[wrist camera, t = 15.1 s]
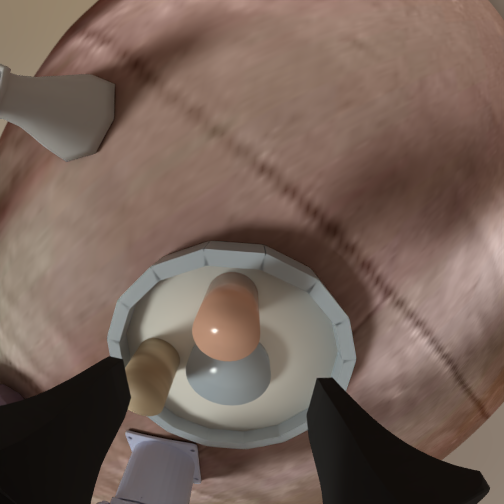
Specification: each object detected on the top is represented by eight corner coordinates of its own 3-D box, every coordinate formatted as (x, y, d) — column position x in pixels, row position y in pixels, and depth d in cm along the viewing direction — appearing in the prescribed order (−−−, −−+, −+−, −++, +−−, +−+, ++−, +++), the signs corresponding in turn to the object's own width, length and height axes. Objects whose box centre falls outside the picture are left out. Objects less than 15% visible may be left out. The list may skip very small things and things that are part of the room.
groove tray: (319, 430, 23) (323, 448, 20) (137, 414, 22) (130, 431, 20) (365, 252, 19) (379, 262, 16) (113, 234, 18) (96, 240, 16)
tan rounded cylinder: (140, 369, 20) (118, 409, 15) (136, 334, 19) (110, 372, 14) (180, 376, 20) (165, 420, 15) (179, 341, 19) (161, 384, 14)
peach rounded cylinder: (256, 321, 19) (257, 363, 14) (206, 317, 19) (192, 357, 14) (260, 274, 18) (263, 305, 13) (207, 269, 18) (192, 299, 13)
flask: (130, 74, 16) (53, 15, 6) (104, 167, 17) (2, 163, 8) (61, 77, 15) (-18, 43, 6) (39, 158, 17) (-52, 157, 7)
